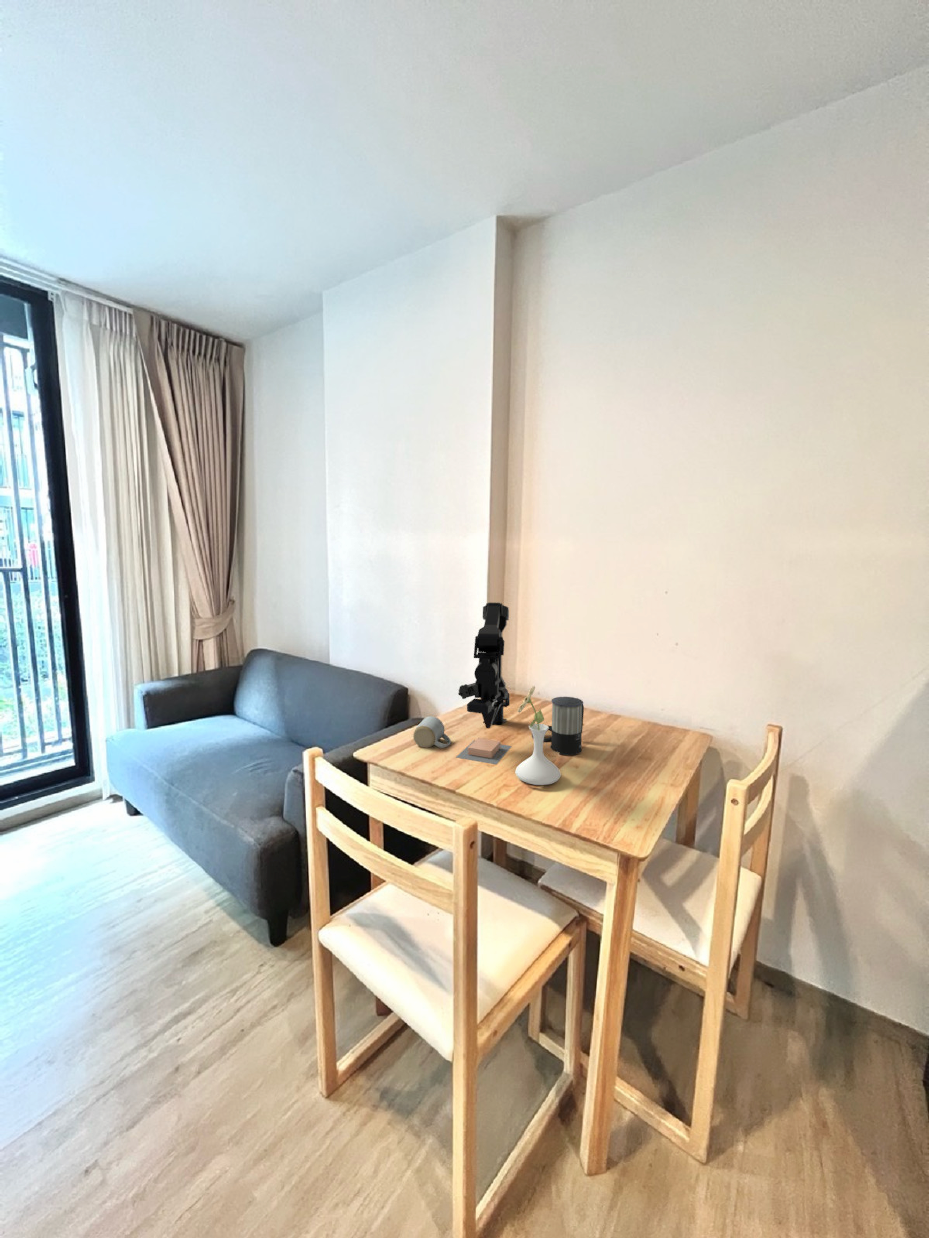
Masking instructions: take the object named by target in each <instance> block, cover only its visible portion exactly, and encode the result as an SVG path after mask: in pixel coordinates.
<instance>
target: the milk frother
mask: <svg viewBox="0 0 929 1238" xmlns="http://www.w3.org/2000/svg"><path fill="white" fill-rule="evenodd" d="M551 704H552V705H551V707H552V708H551V709H552V710H551V713H552V714H551V725H547V726H548V727H549V729H548V730H547V731H550V732H551V736H549V737H546V738H545V737H544V740H543V743H550V742H551V743H550V747H549V748H550V749H551V750H552V751H553V752H556V753H558V754H559V755H561V756H576V755H580V754H581V753H582V752H583V748H582V733H583V728H584V727H583V726H584V714H585V712H584V711H585V710H584V708H585V707H584V706H585V705H584V701H583V700H582V699H581V698H578V697H573V696H557V697H553V698H552V699H551ZM531 738H532V739H533V740H534V738H533V734H532V733H531Z"/></svg>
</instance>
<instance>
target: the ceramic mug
mask: <svg viewBox="0 0 929 1238" xmlns="http://www.w3.org/2000/svg"><path fill="white" fill-rule="evenodd" d="M412 735H413V736H412V737H413V741H414V743H415V744H416V745H417V746H418V747H420V748H427V749H429V748H431V747H433V746H436V747H438V748H440V749H444V748H447V747H450V745H451V743H452V740H451V738H450V737H449V736H448V735H447V734H445V725H444V723H443V722H442V720H440V719H439V718H437V717H436V716H433V715H432V716H431V715H430V716H426V717H425V718H423V719H422V721H420V723H419V724H418V725H417V726H416V727H415V729H414V731H413V734H412ZM441 739H443V740H444V741H446V742H447V743H443V742H441V741H440V740H441Z"/></svg>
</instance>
